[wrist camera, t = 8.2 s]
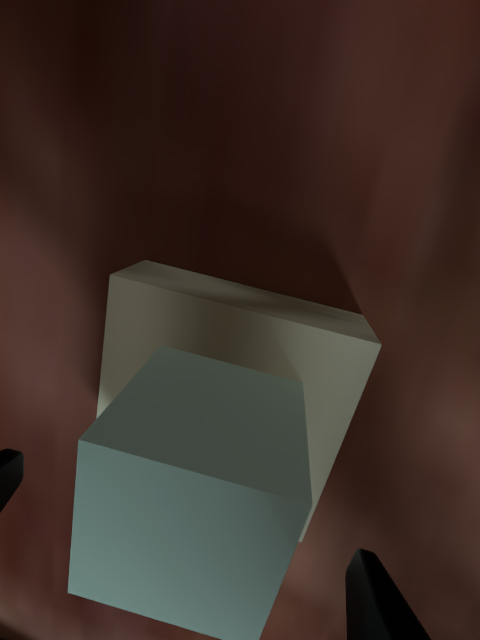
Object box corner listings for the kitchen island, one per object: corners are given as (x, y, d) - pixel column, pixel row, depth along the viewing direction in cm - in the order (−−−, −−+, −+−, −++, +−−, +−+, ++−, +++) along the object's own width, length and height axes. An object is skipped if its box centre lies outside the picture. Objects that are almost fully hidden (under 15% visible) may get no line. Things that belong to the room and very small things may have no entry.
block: (302, 382, 12) (312, 505, 7) (266, 492, 13) (255, 649, 9) (161, 345, 12) (78, 439, 7) (143, 457, 14) (67, 592, 9)
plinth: (362, 314, 14) (382, 344, 11) (299, 484, 17) (301, 542, 14) (145, 259, 14) (109, 274, 11) (123, 435, 17) (90, 481, 14)
